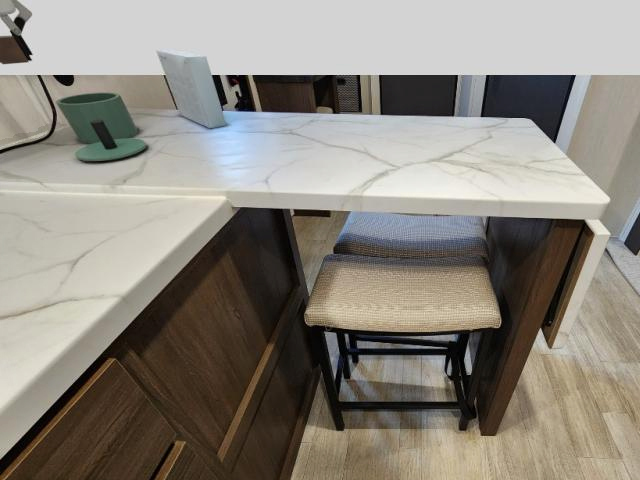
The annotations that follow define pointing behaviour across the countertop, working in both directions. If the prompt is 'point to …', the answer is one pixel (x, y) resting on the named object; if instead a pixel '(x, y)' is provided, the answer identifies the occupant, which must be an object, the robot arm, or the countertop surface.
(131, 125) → the tin
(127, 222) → the countertop surface
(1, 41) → the block
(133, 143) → the tin lid
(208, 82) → the skincare box
